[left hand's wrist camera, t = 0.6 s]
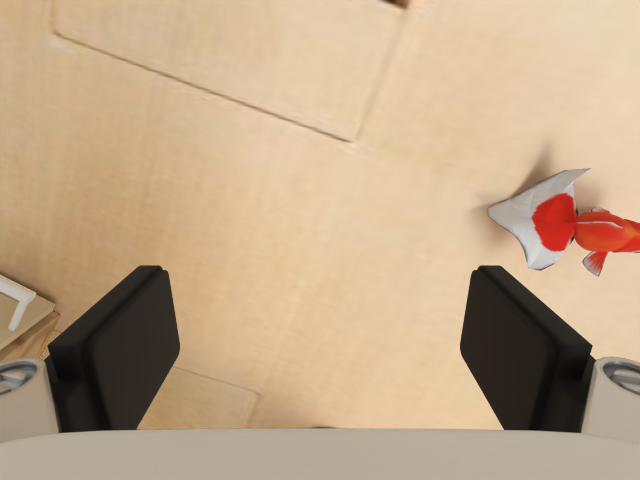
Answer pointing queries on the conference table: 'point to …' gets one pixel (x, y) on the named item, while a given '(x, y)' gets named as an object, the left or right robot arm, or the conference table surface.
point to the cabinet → (31, 340)
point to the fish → (563, 224)
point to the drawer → (19, 310)
